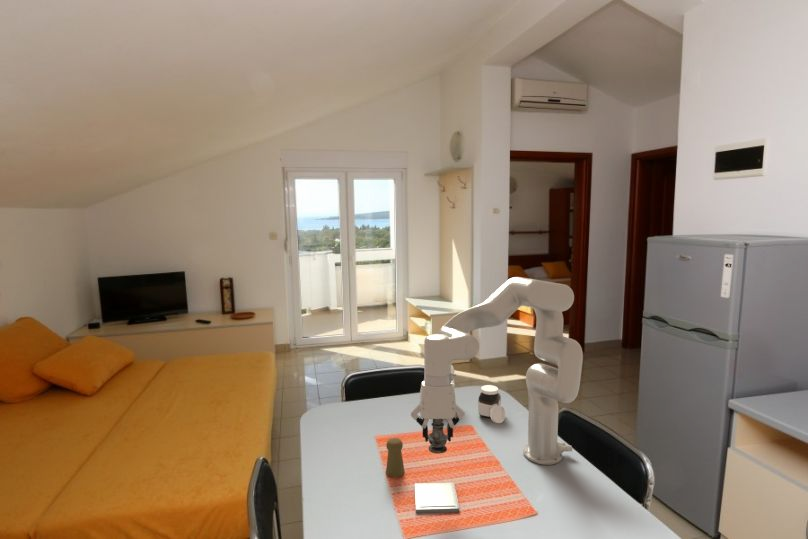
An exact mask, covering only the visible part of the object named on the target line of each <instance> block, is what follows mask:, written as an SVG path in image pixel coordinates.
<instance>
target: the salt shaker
mask: <svg viewBox="0 0 808 539" xmlns="http://www.w3.org/2000/svg"><path fill="white" fill-rule="evenodd" d="M431 426H432V432H431V433H428V442H429V444H430V445H429V446H428V451H429V452H430V453H432V454H436V455H437V454H444V453H445V452H447V451H448V448H447V446H446V444H447V442H448V436H447V433H444V426H445V422H444V419H432V422H431Z"/></svg>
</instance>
